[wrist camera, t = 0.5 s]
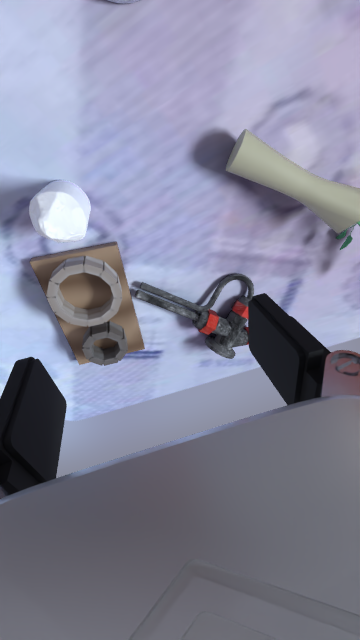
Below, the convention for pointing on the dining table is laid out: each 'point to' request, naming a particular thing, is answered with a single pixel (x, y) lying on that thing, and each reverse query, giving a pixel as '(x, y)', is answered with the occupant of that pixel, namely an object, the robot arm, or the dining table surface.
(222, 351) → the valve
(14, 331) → the dining table surface
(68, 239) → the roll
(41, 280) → the fitting board
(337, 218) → the flower vase
